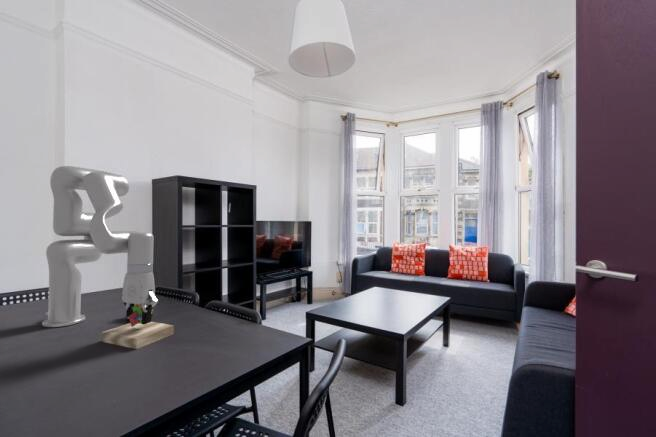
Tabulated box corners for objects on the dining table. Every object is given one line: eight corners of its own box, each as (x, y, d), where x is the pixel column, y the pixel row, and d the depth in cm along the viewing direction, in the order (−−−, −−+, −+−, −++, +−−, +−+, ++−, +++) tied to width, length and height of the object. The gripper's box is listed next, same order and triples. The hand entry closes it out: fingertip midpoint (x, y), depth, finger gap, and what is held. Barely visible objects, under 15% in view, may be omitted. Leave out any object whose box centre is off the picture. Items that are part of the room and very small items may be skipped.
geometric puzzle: (131, 324, 99) (145, 301, 103) (116, 321, 101) (130, 298, 106) (147, 332, 104) (159, 309, 109) (132, 329, 106) (145, 307, 111)
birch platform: (101, 341, 101) (101, 332, 101) (140, 327, 114) (140, 319, 114) (136, 349, 95) (137, 339, 95) (173, 334, 108) (173, 325, 108)
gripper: (111, 268, 104) (109, 321, 104) (149, 272, 98) (147, 328, 98) (132, 265, 112) (130, 315, 111) (168, 269, 106) (167, 321, 105)
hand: (138, 321), depth 105 cm, fingers closed on geometric puzzle, 6 cm apart
